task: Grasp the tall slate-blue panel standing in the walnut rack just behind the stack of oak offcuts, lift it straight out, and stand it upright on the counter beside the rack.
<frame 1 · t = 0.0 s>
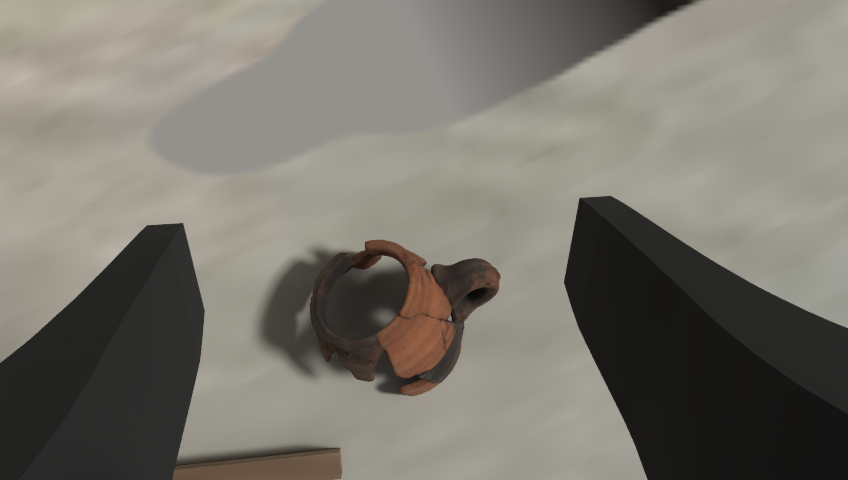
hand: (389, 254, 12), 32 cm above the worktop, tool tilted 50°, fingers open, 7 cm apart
pottery mug: (406, 318, 44), on the worktop
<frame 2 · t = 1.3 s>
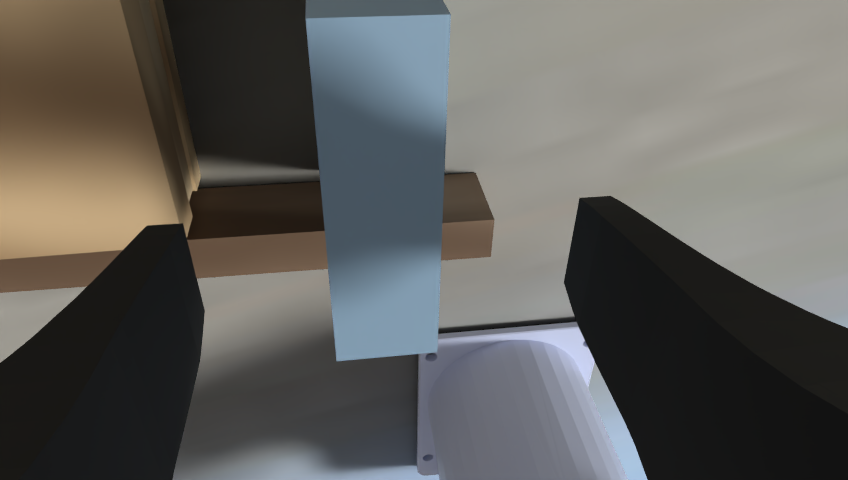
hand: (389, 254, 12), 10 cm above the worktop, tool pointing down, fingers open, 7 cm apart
offcut middle: (55, 74, 18), point 1 cm above the worktop, touching offcut bottom
offcut top: (45, 100, 17), point 2 cm above the worktop
rack: (192, 62, 20), on the worktop
panel: (358, 56, 20), on the worktop
offcut bottom: (76, 58, 20), on the worktop, touching offcut middle
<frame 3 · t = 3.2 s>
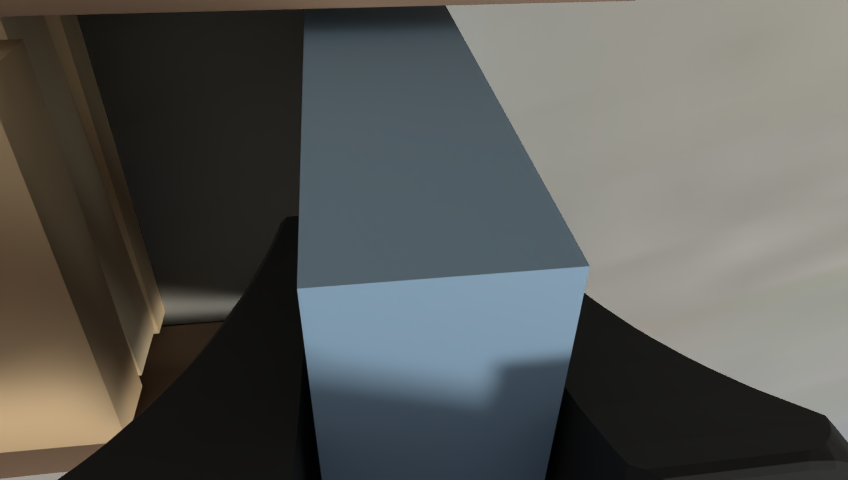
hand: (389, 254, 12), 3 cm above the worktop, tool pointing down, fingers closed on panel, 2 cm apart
rack: (146, 177, 14), on the worktop
panel: (374, 163, 15), on the worktop, touching gripper
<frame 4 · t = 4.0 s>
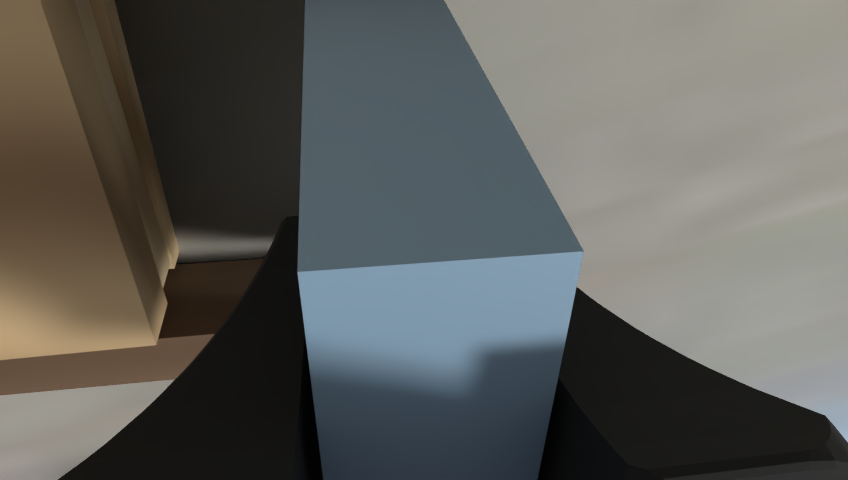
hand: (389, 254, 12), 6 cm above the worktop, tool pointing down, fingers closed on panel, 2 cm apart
rack: (164, 123, 16), on the worktop
panel: (374, 158, 15), point 2 cm above the worktop, touching gripper
offcut bottom: (26, 115, 16), on the worktop, touching offcut middle
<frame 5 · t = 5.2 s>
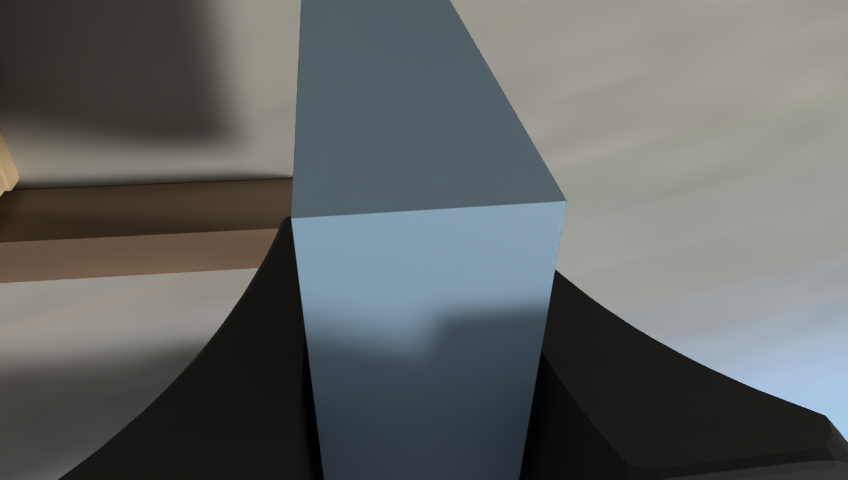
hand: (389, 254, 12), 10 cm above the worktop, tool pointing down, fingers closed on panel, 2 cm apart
panel: (371, 141, 15), point 6 cm above the worktop, touching gripper
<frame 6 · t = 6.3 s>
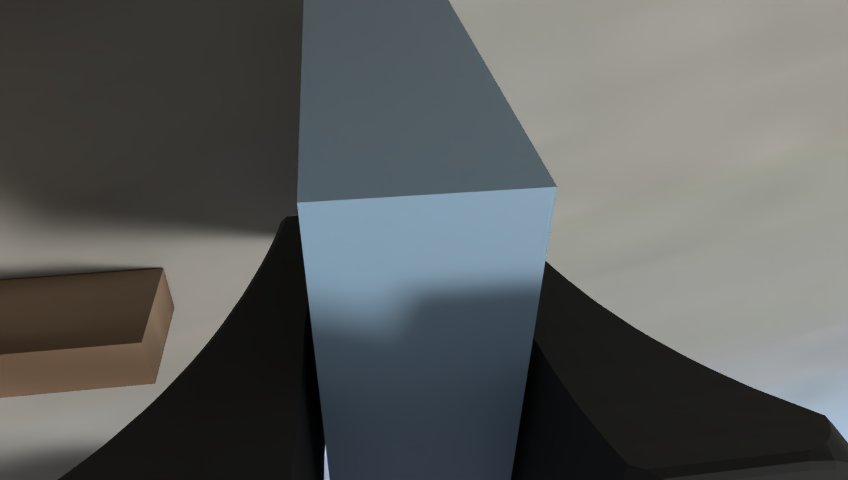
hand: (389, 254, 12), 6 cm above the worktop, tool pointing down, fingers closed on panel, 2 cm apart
panel: (371, 137, 15), point 2 cm above the worktop, touching gripper
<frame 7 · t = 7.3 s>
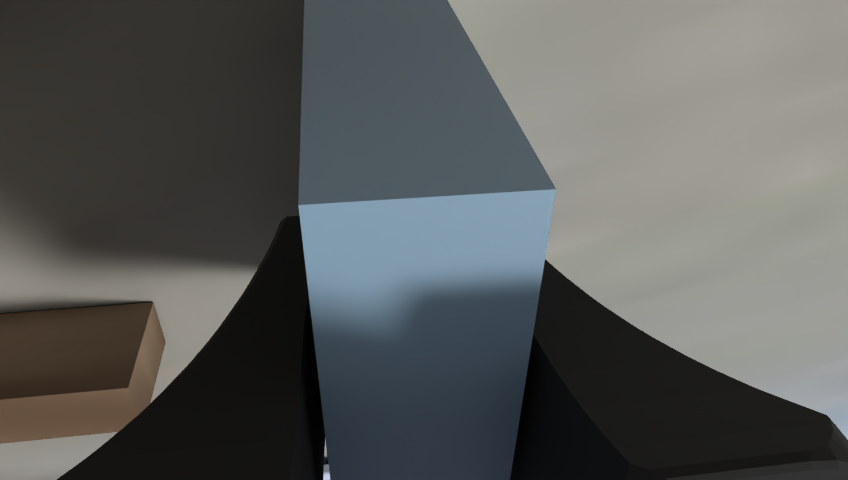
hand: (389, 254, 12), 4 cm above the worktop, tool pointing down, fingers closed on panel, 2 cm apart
panel: (371, 138, 16), on the worktop, touching gripper
when the fingers open (4 cm above the worktop, at t = 7.3 s): panel stays where it is, on the worktop.
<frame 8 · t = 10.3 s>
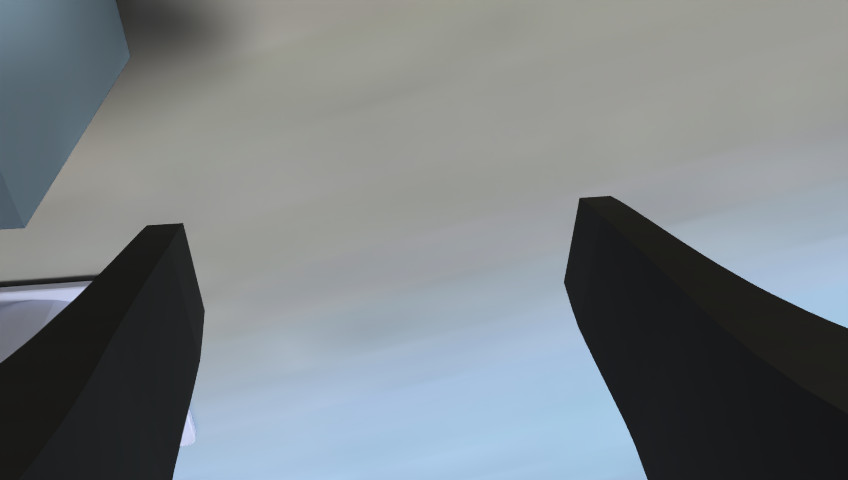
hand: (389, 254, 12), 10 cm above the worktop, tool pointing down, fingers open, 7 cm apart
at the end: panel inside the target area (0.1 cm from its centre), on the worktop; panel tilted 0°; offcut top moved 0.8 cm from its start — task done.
